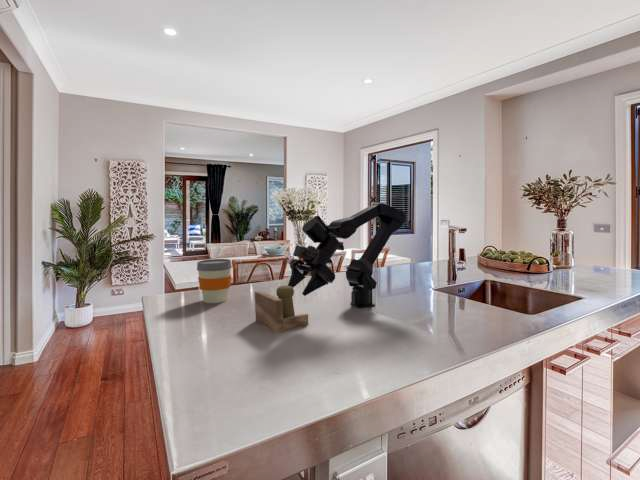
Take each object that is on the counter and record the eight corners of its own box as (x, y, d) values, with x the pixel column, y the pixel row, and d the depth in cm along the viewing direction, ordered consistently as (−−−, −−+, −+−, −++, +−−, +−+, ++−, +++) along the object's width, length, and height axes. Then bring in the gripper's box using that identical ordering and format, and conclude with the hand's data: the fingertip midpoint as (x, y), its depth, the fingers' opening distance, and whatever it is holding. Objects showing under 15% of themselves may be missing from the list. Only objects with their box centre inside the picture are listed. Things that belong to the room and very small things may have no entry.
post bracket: (287, 314, 111) (286, 286, 110) (310, 325, 99) (310, 294, 98) (255, 320, 104) (254, 291, 104) (276, 333, 93) (275, 301, 92)
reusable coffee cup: (237, 300, 128) (236, 261, 127) (203, 306, 121) (201, 264, 120) (226, 294, 139) (225, 257, 137) (194, 299, 132) (192, 261, 130)
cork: (286, 327, 98) (285, 289, 97) (271, 323, 102) (270, 286, 101) (300, 321, 103) (299, 285, 102) (285, 317, 107) (284, 283, 106)
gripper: (293, 234, 113) (264, 271, 108) (325, 237, 97) (293, 281, 92) (313, 255, 118) (287, 292, 113) (348, 261, 103) (318, 304, 97)
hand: (295, 292), depth 104 cm, fingers open, 9 cm apart
